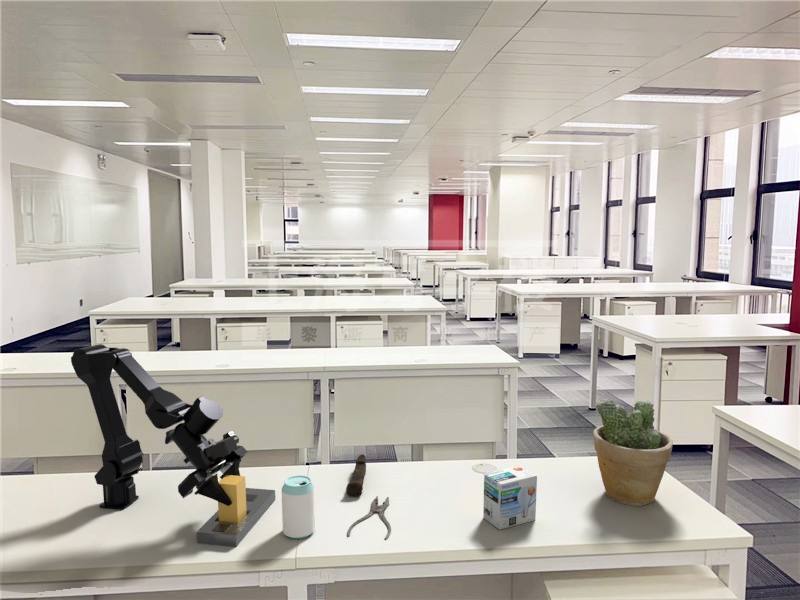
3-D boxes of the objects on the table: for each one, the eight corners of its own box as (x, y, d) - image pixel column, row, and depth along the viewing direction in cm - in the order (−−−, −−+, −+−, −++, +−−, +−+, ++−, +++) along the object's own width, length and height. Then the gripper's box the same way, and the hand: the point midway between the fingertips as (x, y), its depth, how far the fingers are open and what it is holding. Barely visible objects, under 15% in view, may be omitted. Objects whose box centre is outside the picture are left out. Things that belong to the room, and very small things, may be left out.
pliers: (346, 539, 128) (350, 496, 147) (346, 542, 128) (350, 499, 148) (391, 538, 128) (389, 495, 148) (391, 541, 128) (389, 499, 148)
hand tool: (362, 498, 148) (362, 480, 147) (346, 497, 148) (346, 480, 148) (372, 468, 167) (372, 452, 166) (358, 467, 167) (358, 451, 167)
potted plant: (628, 475, 161) (632, 385, 158) (687, 503, 145) (693, 404, 141) (575, 488, 153) (579, 394, 150) (632, 519, 137) (637, 415, 134)
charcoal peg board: (196, 542, 127) (196, 531, 127) (241, 496, 148) (240, 487, 148) (236, 546, 125) (236, 535, 125) (275, 499, 147) (275, 489, 147)
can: (316, 524, 135) (315, 473, 133) (312, 540, 128) (311, 487, 126) (285, 524, 135) (284, 473, 133) (280, 540, 128) (278, 487, 126)
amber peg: (219, 530, 132) (217, 483, 131) (228, 520, 137) (226, 474, 135) (238, 532, 131) (236, 484, 130) (246, 522, 136) (245, 476, 134)
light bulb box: (499, 530, 132) (500, 484, 131) (481, 517, 138) (482, 473, 137) (537, 519, 137) (538, 475, 136) (518, 507, 143) (519, 464, 141)
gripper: (186, 438, 124) (233, 496, 121) (239, 412, 141) (281, 462, 139) (158, 469, 127) (202, 526, 125) (212, 440, 145) (253, 489, 142)
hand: (237, 499), depth 133 cm, fingers closed on amber peg, 5 cm apart
